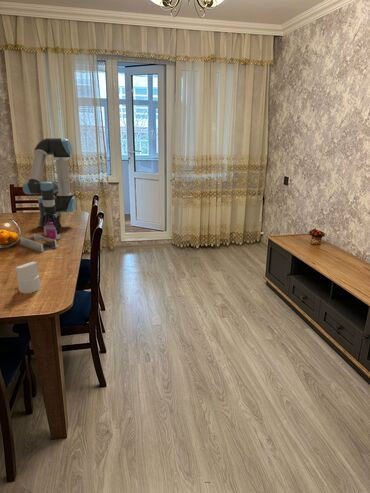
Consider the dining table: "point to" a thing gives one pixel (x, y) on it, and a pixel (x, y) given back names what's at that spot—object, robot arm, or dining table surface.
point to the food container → (59, 215)
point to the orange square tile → (41, 241)
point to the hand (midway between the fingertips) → (52, 236)
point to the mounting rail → (38, 246)
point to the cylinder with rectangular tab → (28, 277)
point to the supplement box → (50, 230)
